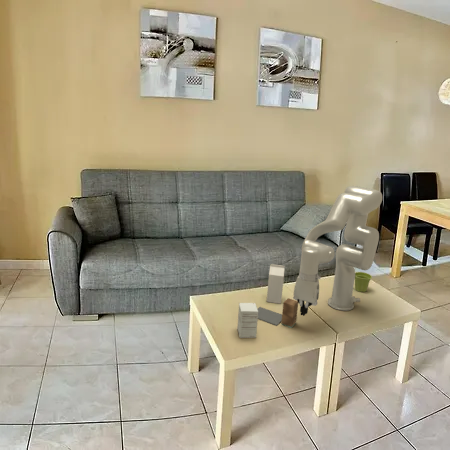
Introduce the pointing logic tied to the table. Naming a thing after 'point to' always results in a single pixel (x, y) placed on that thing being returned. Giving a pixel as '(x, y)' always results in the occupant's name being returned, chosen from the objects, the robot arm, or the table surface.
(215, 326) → the table surface
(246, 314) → the supplement box
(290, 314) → the walnut block
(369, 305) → the table surface
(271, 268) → the milk carton
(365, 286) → the plant pot
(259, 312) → the mat
